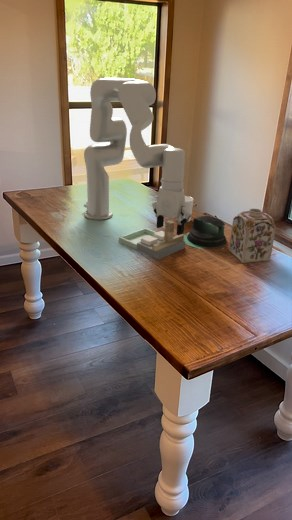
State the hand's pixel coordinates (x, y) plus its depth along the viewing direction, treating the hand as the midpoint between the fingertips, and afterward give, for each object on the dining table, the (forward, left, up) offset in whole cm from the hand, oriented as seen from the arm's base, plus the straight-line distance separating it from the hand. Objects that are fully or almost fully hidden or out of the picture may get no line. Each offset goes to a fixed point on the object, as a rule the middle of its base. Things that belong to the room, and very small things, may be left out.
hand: (169, 230), depth 155 cm
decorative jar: (+22, +21, -9) cm, 32 cm away
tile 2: (-7, +4, -6) cm, 10 cm away
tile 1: (-7, -3, -6) cm, 10 cm away
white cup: (-19, +32, -9) cm, 38 cm away
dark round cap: (+2, +21, -9) cm, 23 cm away
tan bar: (0, 0, -6) cm, 6 cm away
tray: (-14, 0, -9) cm, 17 cm away
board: (-4, 0, -9) cm, 10 cm away
